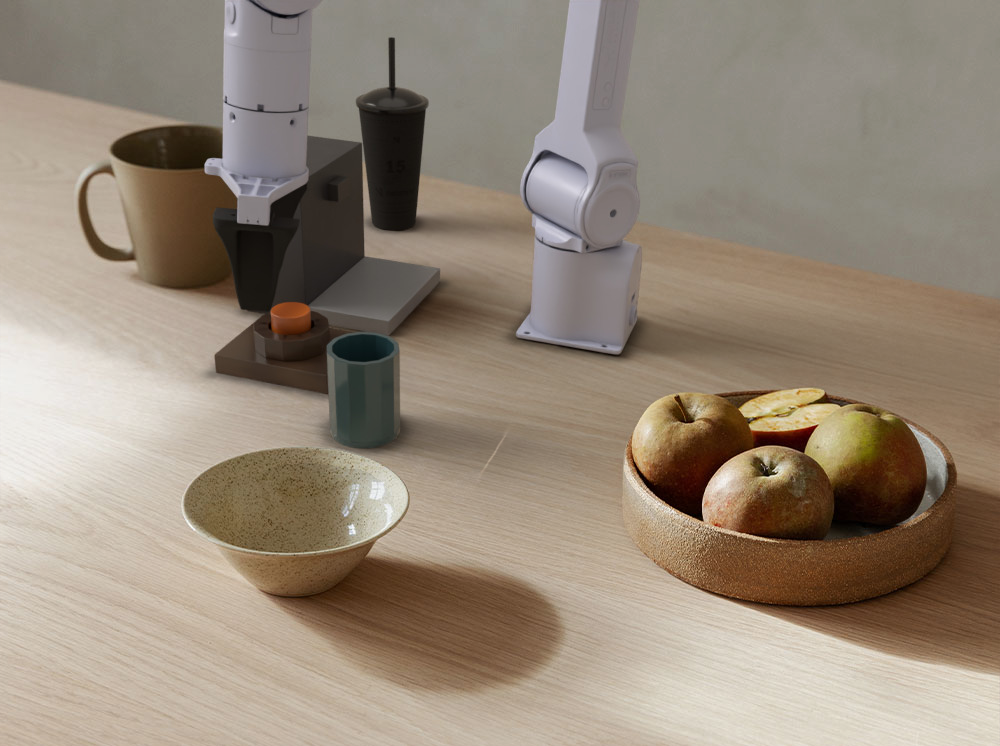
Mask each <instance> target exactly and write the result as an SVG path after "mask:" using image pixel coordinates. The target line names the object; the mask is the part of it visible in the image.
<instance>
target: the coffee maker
mask: <svg viewBox="0 0 1000 746" xmlns="http://www.w3.org/2000/svg"><path fill="white" fill-rule="evenodd" d="M363 165H364V164H363V142H362V141H353V140H347V139H346V140H344V139H338V138H330V137H323V136H313V135H307V157H306V166H307V168H308V169H309V176H308V187H307V190H306V192H305V193H304V195H303V197H302V199H301V200H300V202H299V204H298V207H297V209H296V211H295V214H294V217H293V218H294V219H300V223H299V227H298V229H297V231H296V233H295V235H294V237H293V238H292V240H291V242H290V243H289V245H288V247H287V249H286V252H285V256H284V260H283V264H282V267H281V270H280V273H279V278H278V283H277V288H276V293H275V297H274V301H273V304H272V307H271V309H272V308H273V307H274V306H276V305H278V304H281V303H286V302H298V303H303V304H305V305H307V306H309V308H310V311H314V312H318V313H319V314H321V315H323V316H325V317H326V318H328V321H329V327H330V326H331V327H337V328H343V329H348V330H354V331H358V332H374V333H380V334H383V335H387V336H391V334H393V332H395V330H396V329H397V328H398V327H399V326H400V325H401V324H402V323H403V322H404V321H405V320H406V318H408V317H409V315H411V313H412V312H413V311H414V310H415V309H416V308H417V307H418V306H419V305H420V304H421V303H422V302H423V301H424V299H426V297H427V296H428V295H429V294H430V293H431V292H433V290H434V289H435V288H436V287H437V286H438V285H439V284H440V283H441V268H440V267H436V266H430V265H422V264H416V263H411V262H403V261H398V260H392V259H385V258H379V257H373V256H372V257H371V256H366V255H365V253H366V252H365V216H364V215H365V213H364V212H365V211H364V210H365V209H364V173H363V172H364V171H363V169H364V167H363ZM246 311H247V312H251V313H257V314H262V315H265V314H268V313H271V310H270V311H268V312H266V311H252V310H246Z"/></svg>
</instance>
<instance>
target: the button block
mask: <svg viewBox="0 0 1000 746" xmlns="http://www.w3.org/2000/svg"><path fill="white" fill-rule="evenodd" d="M348 333H356V332H355V331H349V330H343V329H337V328H333V327H330V325H329V321H328V318H326V317H325V316H323V315H321V314H319V313H318V312H314V311H311V330H310V331H308V332H305V333H301V334H297V335H283V334H277V333H274V332H273V331H272V325H271V313H268V314H262V315H261V316H260V317H258V318H257V319H256V320H255V321H254V322H252V323H251V324H250V325H248V327H246V328H245V329H244V330H243V331H241V332H240V333H239V334H238V335H236V336H235V337H234V338H232V340H230V341H229V342H228V343H226V344H225V345H224V346H223V347H222V348H221V349H219V350H218V351H217V352H216V353H214V365H215V373H216V374H221V375H227V376H231V377H238V378H243V379H248V380H252V381H258V382H262V383H266V384H267V383H268V384H273V385H279V386H282V387H289V388H293V389H298V390H304V391H309V392H315V393H319V394H323V395H324V394H325V395H329V393H328V369H327V345H328V344H329V343H330V342H331V341H332V340H333V339H334V338H336V337H339V336H342V335H344V334H348Z"/></svg>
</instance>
